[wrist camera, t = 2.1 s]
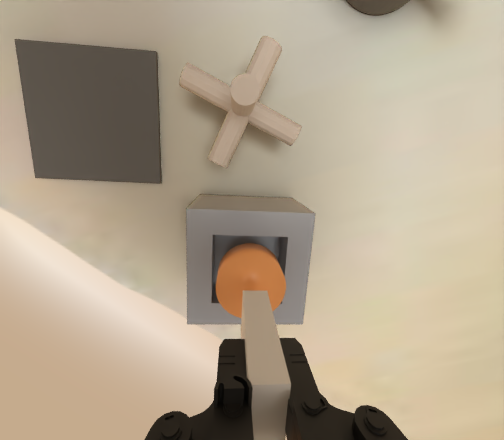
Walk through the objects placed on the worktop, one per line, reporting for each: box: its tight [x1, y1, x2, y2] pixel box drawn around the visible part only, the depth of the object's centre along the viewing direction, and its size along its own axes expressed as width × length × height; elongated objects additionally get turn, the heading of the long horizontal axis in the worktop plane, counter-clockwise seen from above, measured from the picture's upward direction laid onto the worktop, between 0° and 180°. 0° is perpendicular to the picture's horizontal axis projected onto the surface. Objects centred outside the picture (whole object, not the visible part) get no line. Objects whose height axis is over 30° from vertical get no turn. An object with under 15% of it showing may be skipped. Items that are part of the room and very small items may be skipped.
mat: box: [15, 39, 161, 183], centre depth 24 cm, size 12×12×1 cm
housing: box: [186, 194, 315, 324], centre depth 24 cm, size 10×10×8 cm
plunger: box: [216, 243, 286, 318], centre depth 19 cm, size 5×5×2 cm
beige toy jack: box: [179, 36, 302, 168], centre depth 20 cm, size 10×10×10 cm
